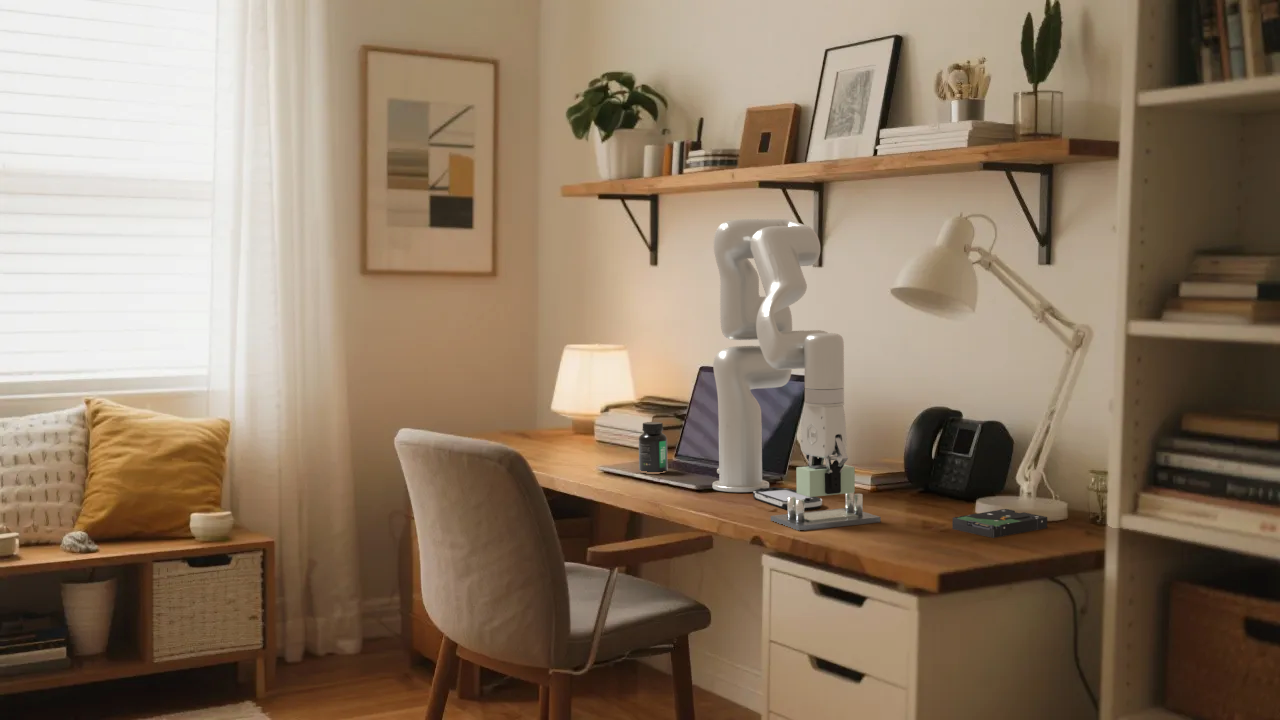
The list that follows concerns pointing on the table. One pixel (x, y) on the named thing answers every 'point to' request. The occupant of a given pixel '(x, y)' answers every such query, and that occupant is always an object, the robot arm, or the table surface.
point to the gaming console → (785, 498)
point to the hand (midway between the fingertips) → (825, 490)
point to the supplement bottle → (653, 448)
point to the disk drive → (999, 523)
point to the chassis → (825, 515)
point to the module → (822, 480)
